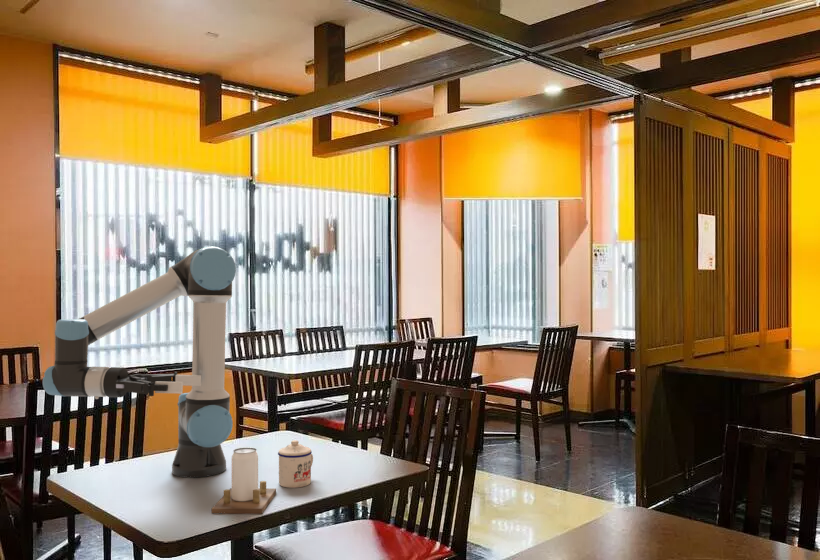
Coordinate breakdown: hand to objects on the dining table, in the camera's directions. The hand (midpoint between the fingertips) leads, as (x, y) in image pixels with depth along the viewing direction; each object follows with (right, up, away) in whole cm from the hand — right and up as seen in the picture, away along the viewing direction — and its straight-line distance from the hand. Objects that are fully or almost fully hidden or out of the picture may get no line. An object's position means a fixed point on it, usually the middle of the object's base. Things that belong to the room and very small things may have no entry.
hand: (191, 384), depth 175 cm
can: (+14, -28, -2) cm, 32 cm away
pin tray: (+14, -29, -2) cm, 33 cm away
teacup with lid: (+24, -30, +16) cm, 41 cm away
